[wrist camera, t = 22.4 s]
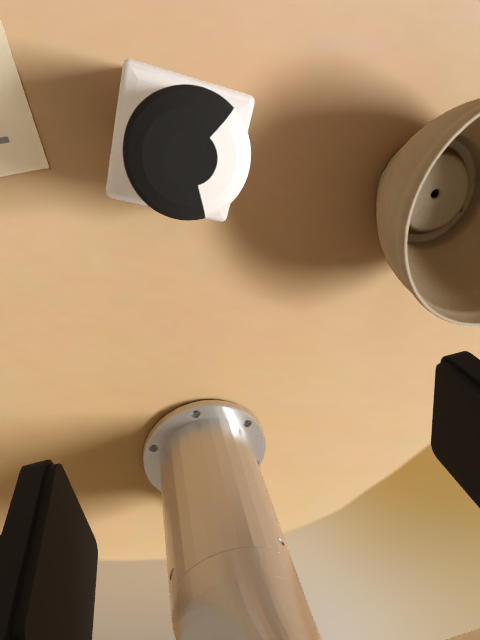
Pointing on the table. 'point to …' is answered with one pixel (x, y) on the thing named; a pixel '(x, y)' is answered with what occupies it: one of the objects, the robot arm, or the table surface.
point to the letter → (16, 121)
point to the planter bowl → (436, 215)
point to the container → (178, 143)
